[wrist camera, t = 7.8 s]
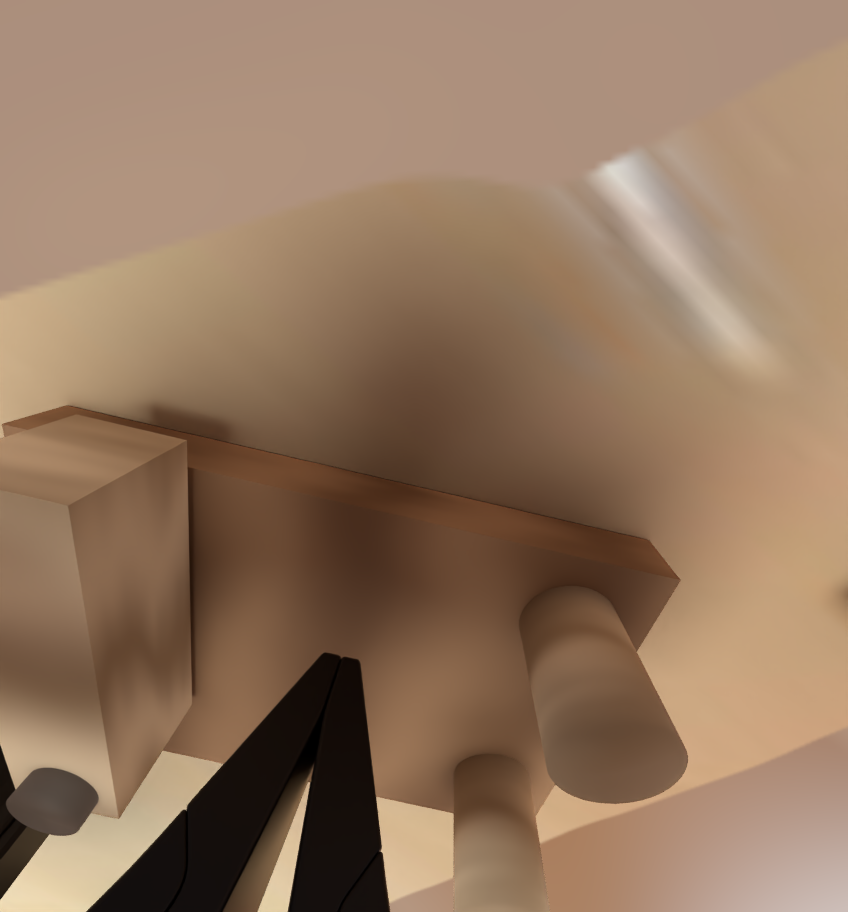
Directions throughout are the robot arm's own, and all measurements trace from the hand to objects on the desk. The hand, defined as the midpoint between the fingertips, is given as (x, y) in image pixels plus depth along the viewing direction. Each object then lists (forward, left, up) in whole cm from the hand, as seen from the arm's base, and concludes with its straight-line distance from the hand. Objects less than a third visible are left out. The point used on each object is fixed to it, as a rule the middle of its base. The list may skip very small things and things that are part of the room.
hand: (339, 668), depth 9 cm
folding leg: (-7, -3, -3) cm, 8 cm away
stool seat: (-1, -5, -6) cm, 8 cm away
